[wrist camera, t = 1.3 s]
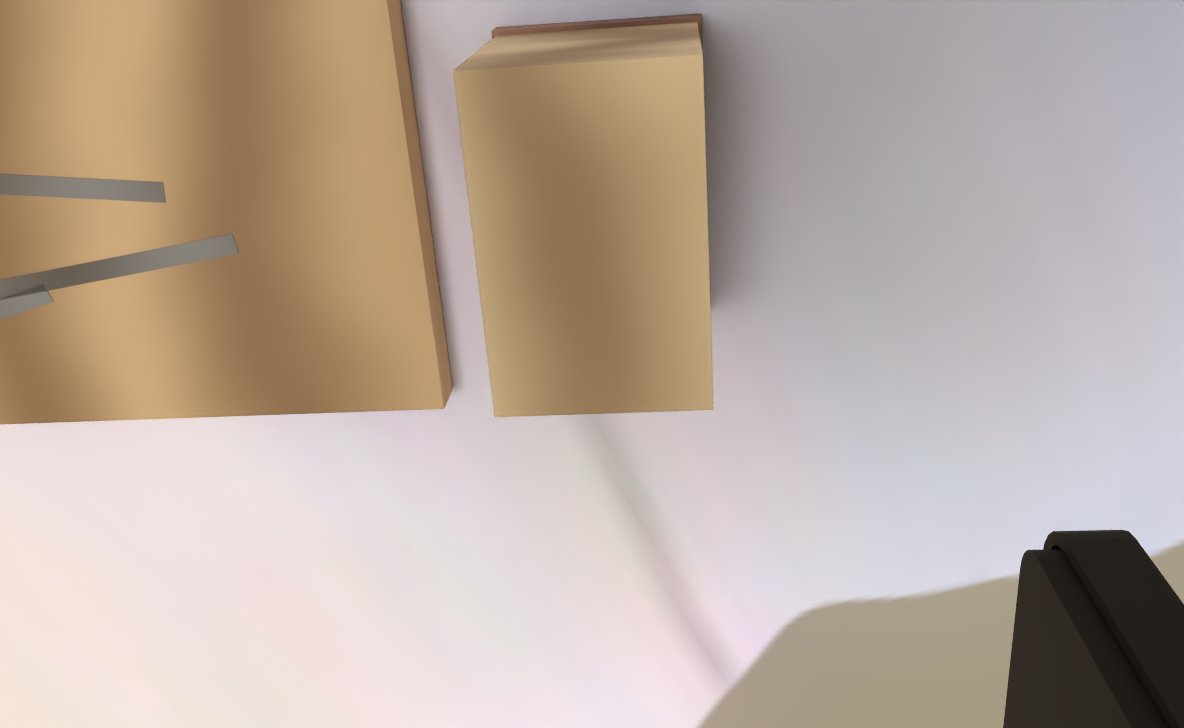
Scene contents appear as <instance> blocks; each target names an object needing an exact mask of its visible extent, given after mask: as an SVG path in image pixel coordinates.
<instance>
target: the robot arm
mask: <svg viewBox="0 0 1184 728" xmlns="http://www.w3.org/2000/svg"><path fill="white" fill-rule="evenodd" d="M1003 728H1184V604H1183V603H1182V601H1181V600H1180V599H1179V597H1178V596H1177V595H1176V593H1175V592H1174V591H1173V589H1172V588H1171V586H1170V585H1169V584H1168V582H1167V581H1166V580H1165V579H1164V577H1163V576H1162V574H1161V573H1160V571H1159V570H1158V568H1157V567H1156V566H1155V564H1154V563H1153V562H1152V560H1151V559H1150V558H1149V556H1148V555H1147V553H1146V552H1145V551H1144V549H1143V548H1142V547H1141V545H1140V544H1139V542H1138V541H1137V540H1136V538H1135V537H1134V536H1133V535H1132V534H1131V533H1130V532H1129V531H1124V530H1097V531H1053V532H1052V533H1050V534H1049V535H1048V537H1047V539H1046V541H1045V543H1044V549H1043V550H1028V551H1026V552H1025V553H1024V555H1023V558H1022V562H1021V567H1020V576H1019V585H1018V595H1017V604H1016V614H1015V623H1014V633H1013V642H1012V651H1011V661H1010V670H1009V679H1008V689H1007V698H1006V707H1005V717H1004V727H1003Z"/></svg>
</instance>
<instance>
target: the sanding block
mask: <svg viewBox="0 0 1184 728" xmlns="http://www.w3.org/2000/svg"><path fill="white" fill-rule="evenodd" d="M453 73H454V82H455V90H456V98H457V107H458V115H459V123H460V132H461V140H462V149H463V157H464V165H465V174H466V182H467V190H468V199H469V207H470V215H471V224H472V232H473V240H474V249H475V257H476V265H477V274H478V282H479V290H480V299H481V307H482V315H483V324H484V332H485V340H486V349H487V357H488V366H489V374H490V382H491V391H492V399H493V407H494V416H495V417H513V416H542V415H572V414H602V413H632V412H661V411H691V410H713V378H712V344H711V310H710V277H709V243H708V210H707V176H706V142H705V109H704V75H703V50H702V17H701V14H688V15H673V16H658V17H644V18H629V19H614V20H599V21H584V22H570V23H555V24H540V25H525V26H510V27H496V28H495V29H494V30H492V39H491V40H490V41H489V42H488V43H487V44H485V45H484V46H483V47H482V48H480V49H479V50H478V51H477V52H476V53H474V54H473V55H472V56H471V57H469V58H468V59H467V60H466V61H465V62H463V63H462V64H461V65H460V66H458V67H457V68H456V69H455V70H454V71H453Z"/></svg>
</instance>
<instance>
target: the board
mask: <svg viewBox="0 0 1184 728" xmlns="http://www.w3.org/2000/svg"><path fill="white" fill-rule="evenodd" d="M452 390H453V387H452V379H451V372H450V365H449V357H448V350H447V343H446V335H445V328H444V320H443V313H442V306H441V298H440V291H439V284H438V276H437V269H436V261H435V254H434V247H433V239H432V232H431V225H430V217H429V210H428V202H427V195H426V188H425V180H424V173H423V166H422V158H421V151H420V143H419V136H418V129H417V121H416V114H415V107H414V99H413V92H412V84H411V77H410V70H409V62H408V55H407V48H406V40H405V33H404V25H403V18H402V11H401V3H400V0H0V424H24V423H52V422H81V421H109V420H138V419H166V418H194V417H223V416H251V415H280V414H308V413H336V412H365V411H393V410H422V409H444V408H445V405H446V403H447V401H448V399H449V396H450V394H451V392H452Z"/></svg>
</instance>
